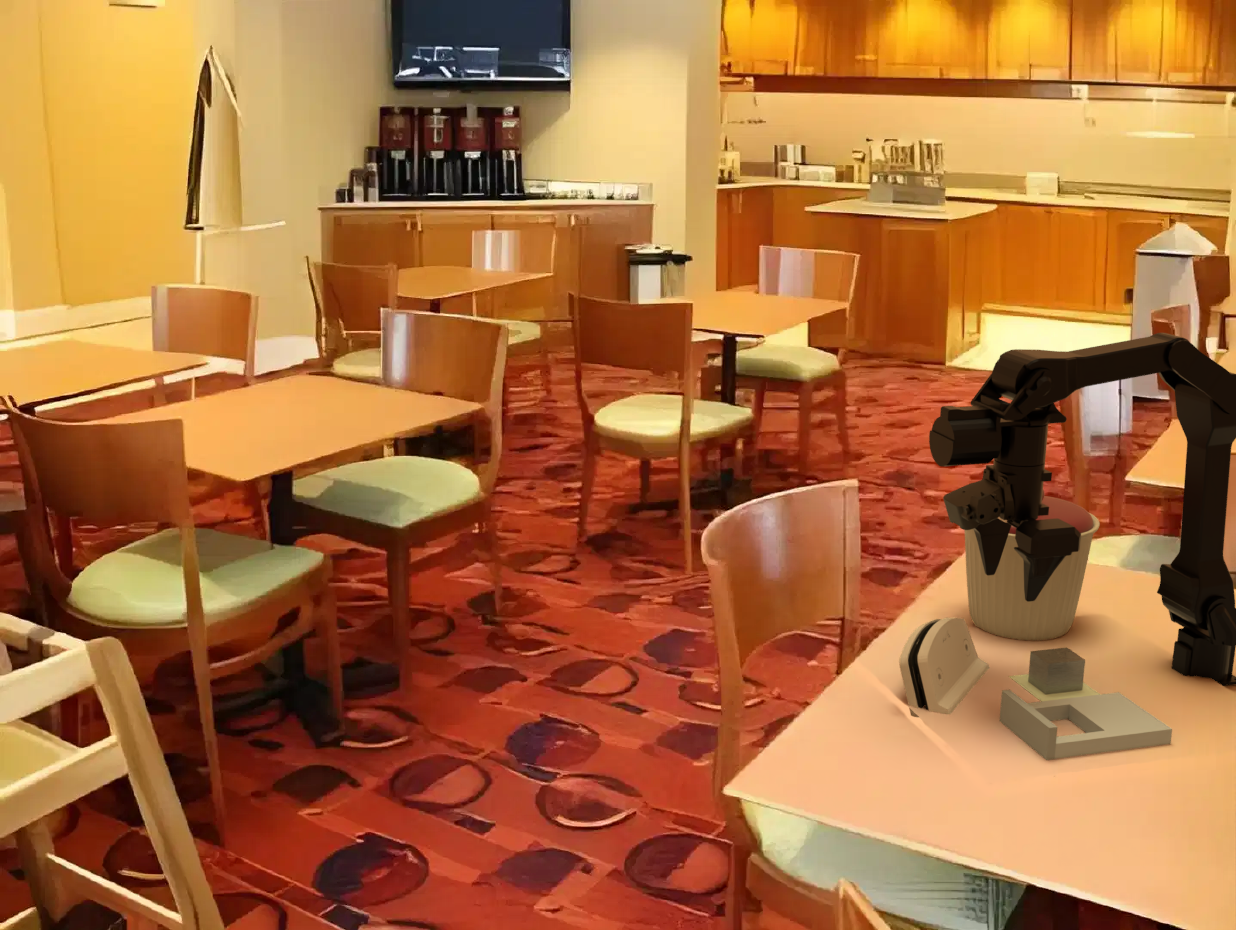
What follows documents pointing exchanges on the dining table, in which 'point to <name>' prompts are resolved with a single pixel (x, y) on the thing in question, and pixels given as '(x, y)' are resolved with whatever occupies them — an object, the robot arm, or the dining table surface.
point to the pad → (1023, 682)
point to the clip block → (1056, 670)
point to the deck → (1083, 724)
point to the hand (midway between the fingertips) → (1009, 587)
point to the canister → (1002, 594)
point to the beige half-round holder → (940, 665)
